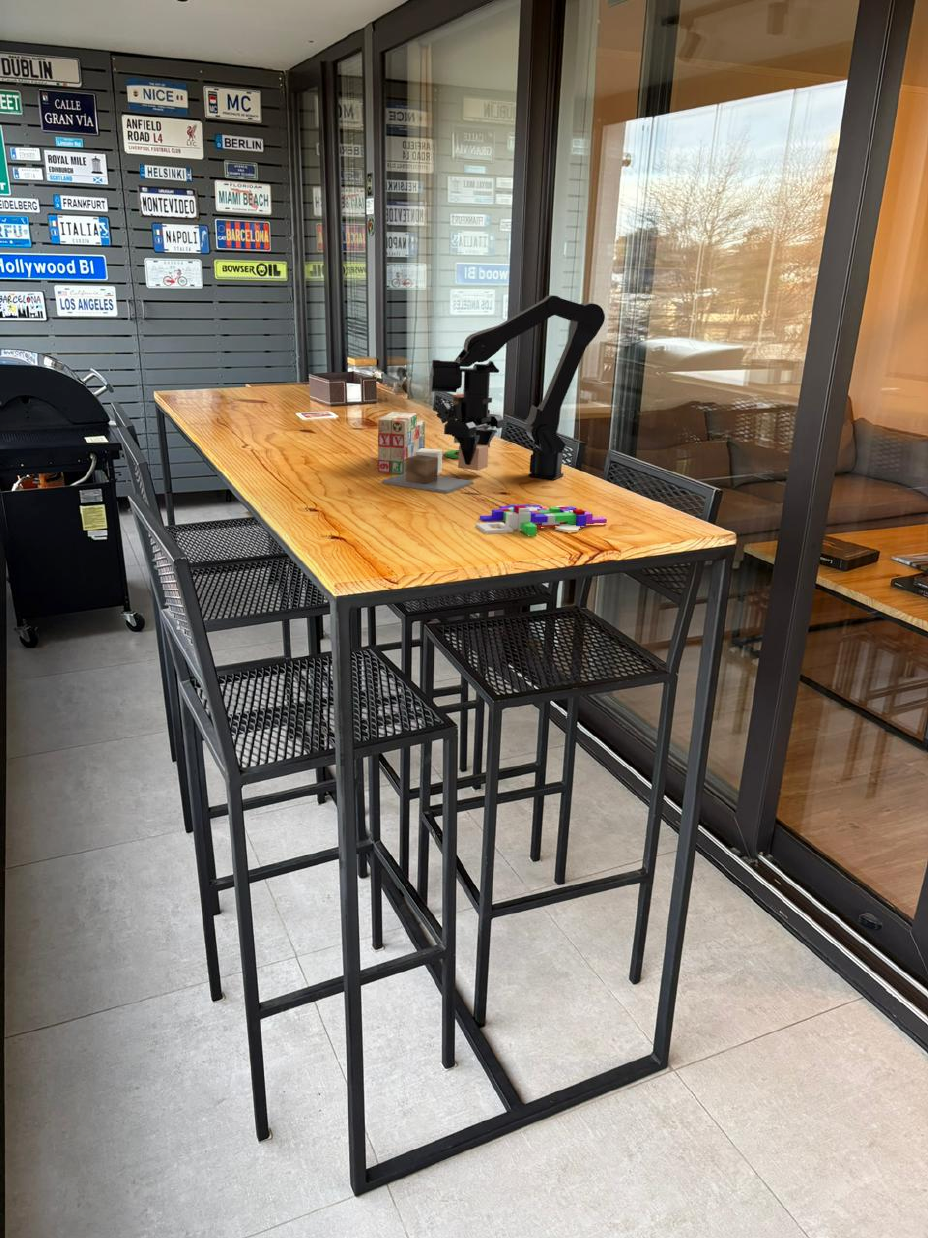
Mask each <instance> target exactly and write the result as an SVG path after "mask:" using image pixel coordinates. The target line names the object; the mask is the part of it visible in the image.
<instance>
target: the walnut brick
mask: <svg viewBox="0 0 928 1238" xmlns="http://www.w3.org/2000/svg"><path fill="white" fill-rule="evenodd" d="M437 471H438V458H437V457H430V456H423V455H416V456H412V457H409V458H406V481H408V482H414V483H421V484H428V483H431V482H434V481H437V476H438V474H437Z"/></svg>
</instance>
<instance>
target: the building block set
mask: <svg viewBox="0 0 928 1238" xmlns="http://www.w3.org/2000/svg"><path fill="white" fill-rule="evenodd" d="M479 519H480V520H481V521H482V522H480V523H475V527H476V528H477V529H478V530H480V531H481V532H482V533H484V534H486V535H489V534H488V533H492V534H505V533H506V534H507V532H511V533H513V532H514V531H515V530H518V531H519V532H520V531H524V532H523V533H525V534H526V535H536V536H537V533H538V531H537V530H538V529H542V528H541V527H555V526H559V527H556V528H555V531H556V530H561V531H578V530H579V529H580V530H581V528H582V527H581V526H586V524H594V523H608V519H607V518H606V517H604V516H596V517H595V516H594V514H593V513H592V512H590V511H588V510H583V509H582V508H580V509H579V508H577V507H575V506H571V505H570V506H565V505H555V506H550V507H548V508H546V507H543V506H541V505H539V504H528V503H527V504H526V503H525V504H509V505H508V504H507V505H504V506H499V508H498V509H491V514H490V515H479ZM500 521H501V522H500ZM502 521H503V522H502ZM504 522H505V523H504ZM573 525H576V526H573ZM580 527H581V528H580ZM586 527H587V526H586ZM537 528H538V529H537ZM580 530H579V531H580ZM525 534H524V535H525ZM526 535H525V536H526Z"/></svg>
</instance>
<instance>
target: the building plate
mask: <svg viewBox="0 0 928 1238" xmlns="http://www.w3.org/2000/svg"><path fill="white" fill-rule="evenodd" d="M381 484H384V485H392V486H396V487H397V486H398V487H405V488H410V489H419V490H424V491H430V492H431V491H432V492H435V493H436V492H438V493H443V494H448V493H451V492H454V491H457V490H460V489H462V488H464V487H468V486H470V485H473V484H474V481H473V480H469V479H461V478H455V477H449V476H443V475H437V481H434V482H431V483H428V484H421V483H414V482H408V481H406V473H404V474H397V475H394V476H392V477H387V478H385V479H382V481H381Z"/></svg>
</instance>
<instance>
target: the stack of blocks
mask: <svg viewBox="0 0 928 1238" xmlns="http://www.w3.org/2000/svg"><path fill="white" fill-rule="evenodd" d="M425 422H426V421H425V420H418V418H417V412H416V413H414V412H401V411H399V412H398V411H391V412H389V413H387V414H385V415H384V416H383V417H380V418H378V420H377V423H378V425H377V428H378V429H377V473H383V474H385V473H386V474H394V475H395V474H396V475H401V474H404V473H406V458H409V457H412V456H416V451H418V450H419V449H421V448H425V449H426V446H425V445H426V434H425V431H426V429H425V428H426V427H425V424H426V423H425Z"/></svg>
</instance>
